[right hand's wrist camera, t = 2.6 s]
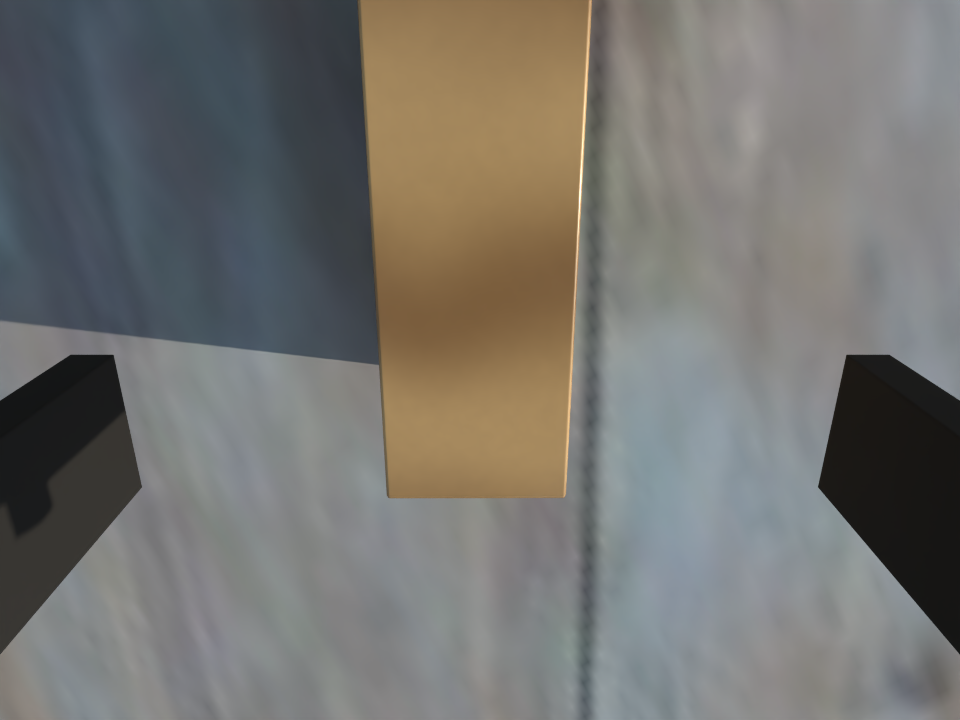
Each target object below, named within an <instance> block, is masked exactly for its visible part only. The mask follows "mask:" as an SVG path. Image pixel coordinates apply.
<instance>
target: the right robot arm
mask: <svg viewBox="0 0 960 720" xmlns="http://www.w3.org/2000/svg"><path fill="white" fill-rule="evenodd" d="M141 488H142V485H141V481H140V476H139V471H138V467H137V462H136V457H135V453H134V448H133V444H132V439H131V434H130V430H129V425H128V420H127V416H126V411H125V406H124V402H123V397H122V392H121V388H120V383H119V378H118V374H117V369H116V364H115V360H114V355H70V356H68V357H67V358H65V359H64V360H62V361H60V362H59V363H57V364H56V365H54V366H53V367H51V368H50V369H48V370H47V371H45V372H44V373H42V374H41V375H39V376H37V377H36V378H34V379H33V380H31V381H30V382H28V383H27V384H25V385H24V386H22V387H21V388H19V389H17V390H16V391H14V392H13V393H11V394H10V395H8V396H7V397H5V398H4V399H2V400H1V401H0V654H1V653H2V652H3V650H4V649H5V648H6V647H7V646H8V645H9V643H10V642H11V641H12V640H13V639H14V637H15V636H16V635H17V634H18V633H19V632H20V630H21V629H22V628H23V627H24V626H25V624H26V623H27V622H28V621H29V620H30V619H31V617H32V616H33V615H34V614H35V613H36V611H37V610H38V609H39V608H40V607H41V606H42V604H43V603H44V602H45V601H46V600H47V599H48V597H49V596H50V595H51V594H52V593H53V591H54V590H55V589H56V588H57V587H58V586H59V584H60V583H61V582H62V581H63V580H64V578H65V577H66V576H67V575H68V574H69V573H70V571H71V570H72V569H73V568H74V567H75V565H76V564H77V563H78V562H79V561H80V560H81V558H82V557H83V556H84V555H85V554H86V552H87V551H88V550H89V549H90V548H91V547H92V545H93V544H94V543H95V542H96V541H97V540H98V538H99V537H100V536H101V535H102V534H103V532H104V531H105V530H106V529H107V528H108V527H109V525H110V524H111V523H112V522H113V521H114V519H115V518H116V517H117V516H118V515H119V514H120V512H121V511H122V510H123V509H124V508H125V506H126V505H127V504H128V503H129V502H130V501H131V499H132V498H133V497H134V496H135V495H136V494H137V492H138V491H139V490H140V489H141ZM818 488H819V489H820V490H821V491H822V492H823V494H824V495H825V496H826V497H827V498H828V499H829V501H830V502H831V503H832V504H833V505H834V506H835V508H836V509H837V510H838V511H839V512H840V514H841V515H842V516H843V517H844V518H845V519H846V521H847V522H848V523H849V524H850V525H851V527H852V528H853V529H854V530H855V531H856V532H857V534H858V535H859V536H860V537H861V538H862V540H863V541H864V542H865V543H866V544H867V545H868V547H869V548H870V549H871V550H872V551H873V552H874V554H875V555H876V556H877V557H878V558H879V560H880V561H881V562H882V563H883V564H884V565H885V567H886V568H887V569H888V570H889V571H890V573H891V574H892V575H893V576H894V577H895V578H896V580H897V581H898V582H899V583H900V584H901V586H902V587H903V588H904V589H905V590H906V591H907V593H908V594H909V595H910V596H911V597H912V599H913V600H914V601H915V602H916V603H917V604H918V606H919V607H920V608H921V609H922V610H923V611H924V613H925V614H926V615H927V616H928V617H929V619H930V620H931V621H932V622H933V623H934V624H935V626H936V627H937V628H938V629H939V630H940V632H941V633H942V634H943V635H944V636H945V637H946V639H947V640H948V641H949V642H950V643H951V645H952V646H953V647H954V648H955V649H956V650H957V652H958V653H959V654H960V401H959V400H958V399H956V398H955V397H953V396H952V395H950V394H949V393H947V392H946V391H944V390H943V389H941V388H939V387H938V386H936V385H935V384H933V383H932V382H930V381H929V380H927V379H926V378H924V377H923V376H921V375H919V374H918V373H916V372H915V371H913V370H912V369H910V368H909V367H907V366H906V365H904V364H903V363H901V362H900V361H898V360H896V359H895V358H893V357H892V356H890V355H846V360H845V364H844V369H843V374H842V378H841V383H840V388H839V392H838V397H837V402H836V406H835V411H834V416H833V420H832V425H831V430H830V434H829V439H828V444H827V448H826V453H825V457H824V462H823V467H822V471H821V476H820V481H819V485H818Z"/></svg>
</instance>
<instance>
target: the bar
mask: <svg viewBox="0 0 960 720" xmlns="http://www.w3.org/2000/svg"><path fill="white" fill-rule="evenodd" d="M357 3H358V20H359V37H360V54H361V70H362V87H363V104H364V120H365V137H366V154H367V171H368V187H369V204H370V221H371V237H372V254H373V271H374V288H375V304H376V321H377V338H378V354H379V371H380V388H381V405H382V421H383V438H384V455H385V471H386V488H387V496H388V498H564V497H565V495H566V481H567V462H568V443H569V424H570V405H571V386H572V367H573V348H574V329H575V310H576V291H577V272H578V253H579V234H580V215H581V196H582V177H583V158H584V139H585V120H586V101H587V83H588V64H589V45H590V26H591V7H592V0H357Z"/></svg>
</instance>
